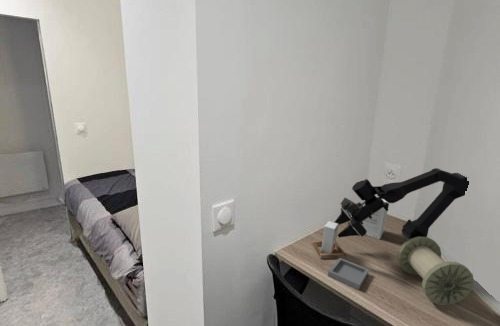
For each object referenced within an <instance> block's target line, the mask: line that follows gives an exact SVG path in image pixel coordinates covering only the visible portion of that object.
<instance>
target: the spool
mask: <svg viewBox="0 0 500 326" xmlns="http://www.w3.org/2000/svg"><path fill="white" fill-rule="evenodd" d="M441 257H442V250H441V247H440V245H439V244H438V243H437V242H436V241H435V240H434V239H432V238H430V237H428V236H427V237H420V236H418V237H415V238H411V239H409V240H408V241H407V240H405V242H403V244H401V246H400V248H399V249H398V252H397V256H396V259H397V263H398V265H399V266H400V267H401V268H402V269H403V271H404V273H405V272H406V273H408V274H410V275H416V276H417V275H419V276H420V277H421V278H422V282H421V289H422V292H423V294H424V295H425V297H427V299H428V300H429V301H430V302H431V303H433V304H435V305H437V306H451V305H454V304H457V303H458V304H459V302H461V301H463V300H464V299H466V298H467V297H468V296H469V294H470V293H471V291H472V289H473V287H474V283H475V280H474V274H473V272H471V271H470V269H469V268H468V267H467V266H466V265H464V264H463V263H460V262H457V261H445V260H444V259H442V258H441Z"/></svg>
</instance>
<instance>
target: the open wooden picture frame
mask: <svg viewBox="0 0 500 326" xmlns="http://www.w3.org/2000/svg"><path fill="white" fill-rule="evenodd" d="M322 241H323V240H311V245H312V247H313V249H314V250H315V252H316V253H317V256H318V257H319V259H320V260H321V259H339V258H342V259H346V258H347V257H346V256H347V254H346V252H345V251H344V250H343V249H342V248H341V246H340V244H338V242H337V241H336V243H335V249H336V251H338V253H337V252H336V253H335V252H334V253H333V252H332V253H330V254H325V253H322V252H321V248H319V246H322Z"/></svg>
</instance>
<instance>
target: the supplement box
mask: <svg viewBox="0 0 500 326" xmlns="http://www.w3.org/2000/svg"><path fill="white" fill-rule="evenodd" d="M382 200H383V201H384V202H387V201H385V200H384V199H382ZM387 203H388V204H389V206H390V203H389V202H387ZM389 206H388V208H389ZM388 211H389V210H388ZM388 211H386V210H385V209H384V208H382V209H380V210H379V211H377V212H376V213H374V214H373V215H371V216H372V218H371V219H370V218H369V217H368V218H367V219H365V220H364V221H363V223H364V224H362V225H363V226H364V227H365V229H366V231H367V232H366V234H365V235H364V236H368V237H371V238H374V239H377V240H380V239H381V238H382V235H383V234H384V231H385V226H386V222H387V221H386V219H387V216H388Z"/></svg>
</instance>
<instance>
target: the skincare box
mask: <svg viewBox="0 0 500 326" xmlns="http://www.w3.org/2000/svg"><path fill="white" fill-rule="evenodd" d="M334 222H335V221H330V220H329V221H327V223H326V224H325V225H324V229H323V236H322V240H321V241H322V245H321V248H320V251H321V252H322V254H330V253H333V252H334V251H335V249H336V248H335V243H336V242H337V237H338V229H339V225H338V224H337V223H334Z"/></svg>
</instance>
